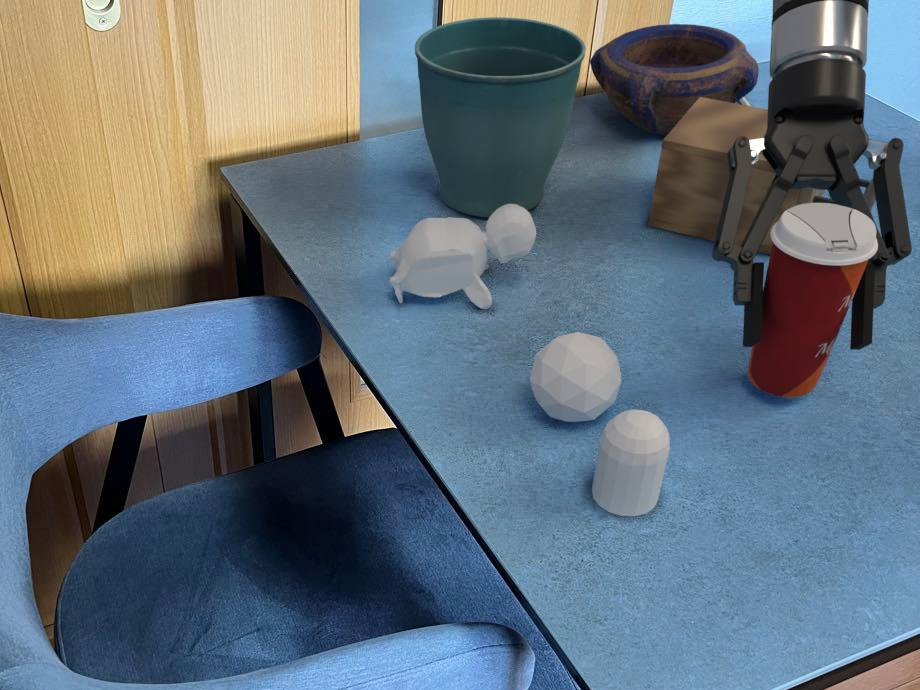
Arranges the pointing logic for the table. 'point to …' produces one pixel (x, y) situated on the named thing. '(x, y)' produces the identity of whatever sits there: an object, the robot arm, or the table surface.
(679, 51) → the bowl
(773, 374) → the coffee cup
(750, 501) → the table surface
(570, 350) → the geometric ball
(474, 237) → the white turtle figurine
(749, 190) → the cabinet
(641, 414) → the capsule
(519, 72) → the flower pot
